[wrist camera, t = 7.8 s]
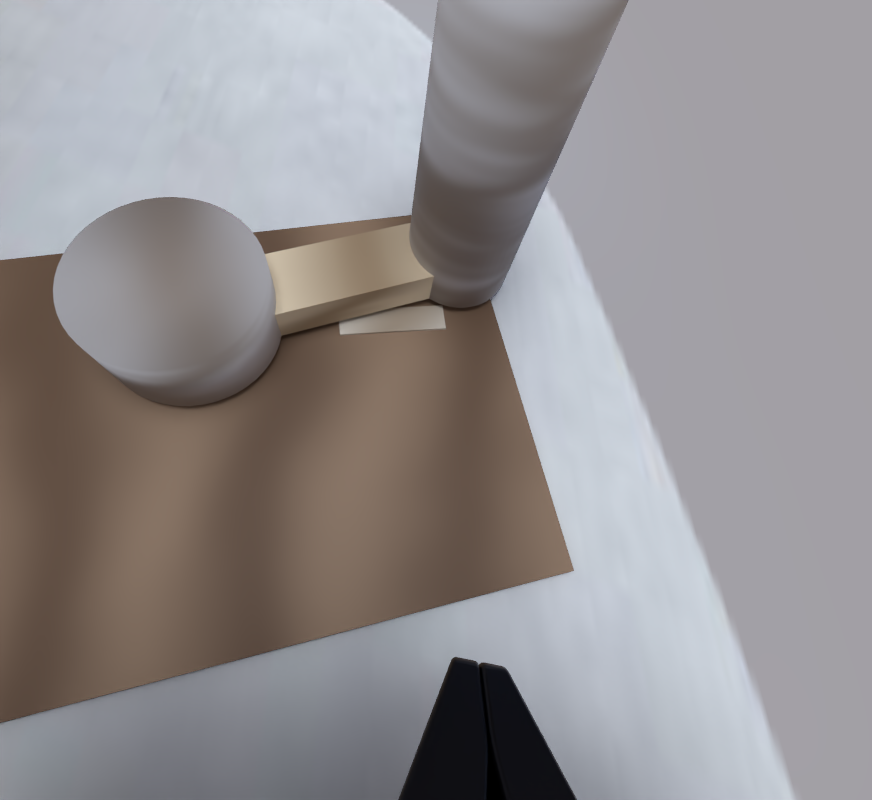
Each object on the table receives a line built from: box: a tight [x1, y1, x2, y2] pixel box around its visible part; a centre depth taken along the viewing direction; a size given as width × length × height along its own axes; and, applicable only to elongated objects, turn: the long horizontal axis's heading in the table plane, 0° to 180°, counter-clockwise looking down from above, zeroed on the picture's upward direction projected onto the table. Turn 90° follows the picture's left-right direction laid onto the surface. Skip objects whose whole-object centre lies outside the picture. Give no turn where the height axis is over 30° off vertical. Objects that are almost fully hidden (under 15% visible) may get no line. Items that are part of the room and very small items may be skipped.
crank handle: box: [53, 0, 628, 406], centre depth 14 cm, size 15×6×12 cm, turn 110°
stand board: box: [0, 215, 574, 723], centre depth 18 cm, size 18×15×1 cm
